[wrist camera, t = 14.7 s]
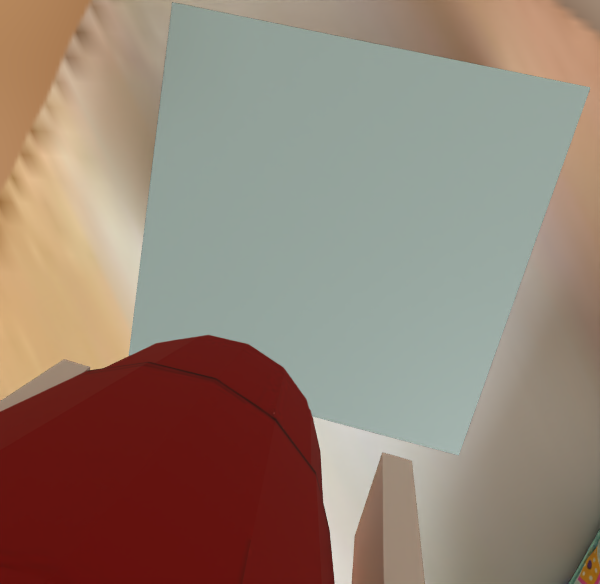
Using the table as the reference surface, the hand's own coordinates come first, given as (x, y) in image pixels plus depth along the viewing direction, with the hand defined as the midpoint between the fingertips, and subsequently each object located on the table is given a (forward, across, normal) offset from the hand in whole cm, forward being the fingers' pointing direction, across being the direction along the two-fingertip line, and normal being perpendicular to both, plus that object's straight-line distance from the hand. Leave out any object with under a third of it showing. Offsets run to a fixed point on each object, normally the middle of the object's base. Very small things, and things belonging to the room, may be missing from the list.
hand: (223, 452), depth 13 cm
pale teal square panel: (+14, -1, -3) cm, 14 cm away
